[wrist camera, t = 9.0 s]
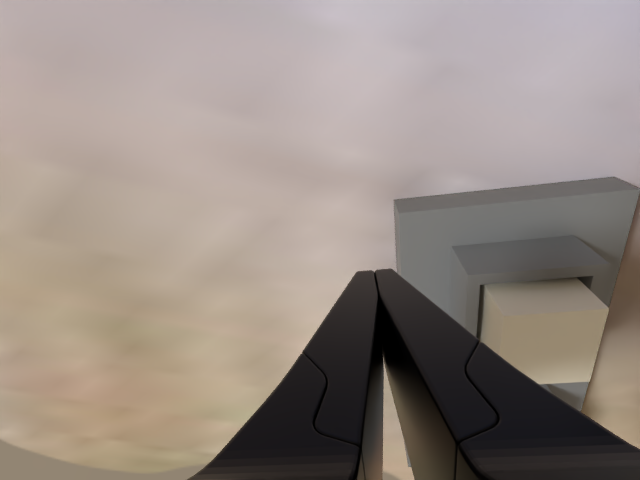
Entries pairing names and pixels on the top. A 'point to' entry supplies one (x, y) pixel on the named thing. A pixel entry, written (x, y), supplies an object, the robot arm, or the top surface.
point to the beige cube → (543, 327)
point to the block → (514, 244)
